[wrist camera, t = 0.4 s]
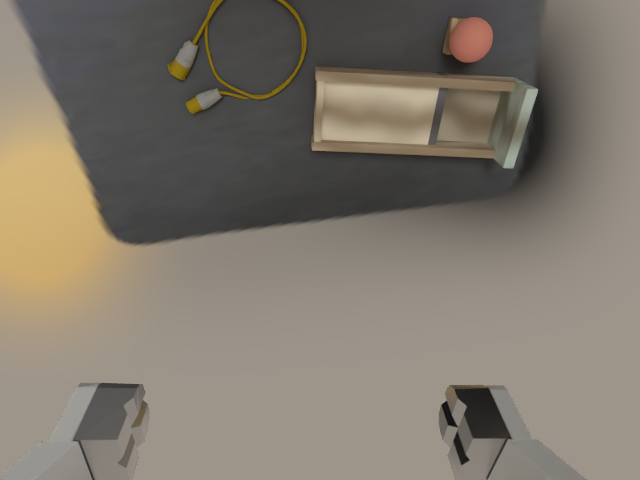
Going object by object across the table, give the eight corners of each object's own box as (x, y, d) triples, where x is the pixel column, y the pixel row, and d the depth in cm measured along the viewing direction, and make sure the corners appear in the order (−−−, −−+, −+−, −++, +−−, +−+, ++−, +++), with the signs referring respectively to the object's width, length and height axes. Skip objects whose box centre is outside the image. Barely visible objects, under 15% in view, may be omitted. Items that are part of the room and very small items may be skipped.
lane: (315, 65, 50) (317, 76, 45) (514, 77, 52) (538, 89, 47) (311, 141, 55) (312, 159, 50) (493, 150, 56) (513, 168, 51)
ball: (448, 13, 47) (462, 17, 43) (488, 16, 47) (505, 20, 43) (440, 57, 49) (452, 64, 45) (478, 59, 50) (493, 67, 46)
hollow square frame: (449, 17, 48) (452, 18, 47) (481, 19, 48) (485, 20, 47) (442, 52, 50) (445, 54, 49) (473, 54, 50) (476, 56, 49)
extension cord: (151, -3, 46) (146, -2, 44) (300, -20, 46) (301, -19, 44) (182, 112, 52) (178, 117, 51) (312, 98, 52) (313, 102, 51)
